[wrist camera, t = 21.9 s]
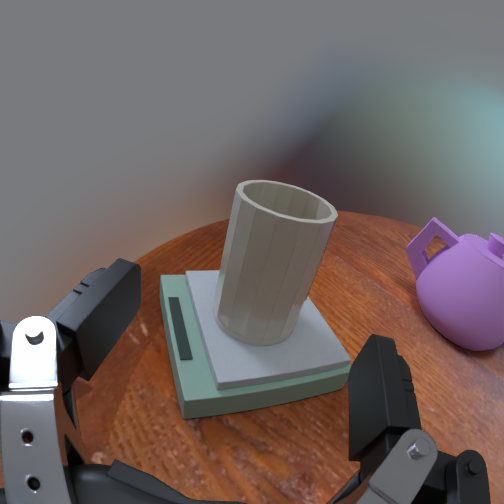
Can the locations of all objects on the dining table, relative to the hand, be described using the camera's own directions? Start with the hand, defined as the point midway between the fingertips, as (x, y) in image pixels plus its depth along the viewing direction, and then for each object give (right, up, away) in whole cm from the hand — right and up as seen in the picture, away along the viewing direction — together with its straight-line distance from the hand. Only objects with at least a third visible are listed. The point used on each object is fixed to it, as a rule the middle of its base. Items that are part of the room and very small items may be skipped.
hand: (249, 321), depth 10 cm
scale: (-1, -5, +14) cm, 15 cm away
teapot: (+27, -7, +23) cm, 36 cm away
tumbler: (0, -2, +12) cm, 12 cm away
